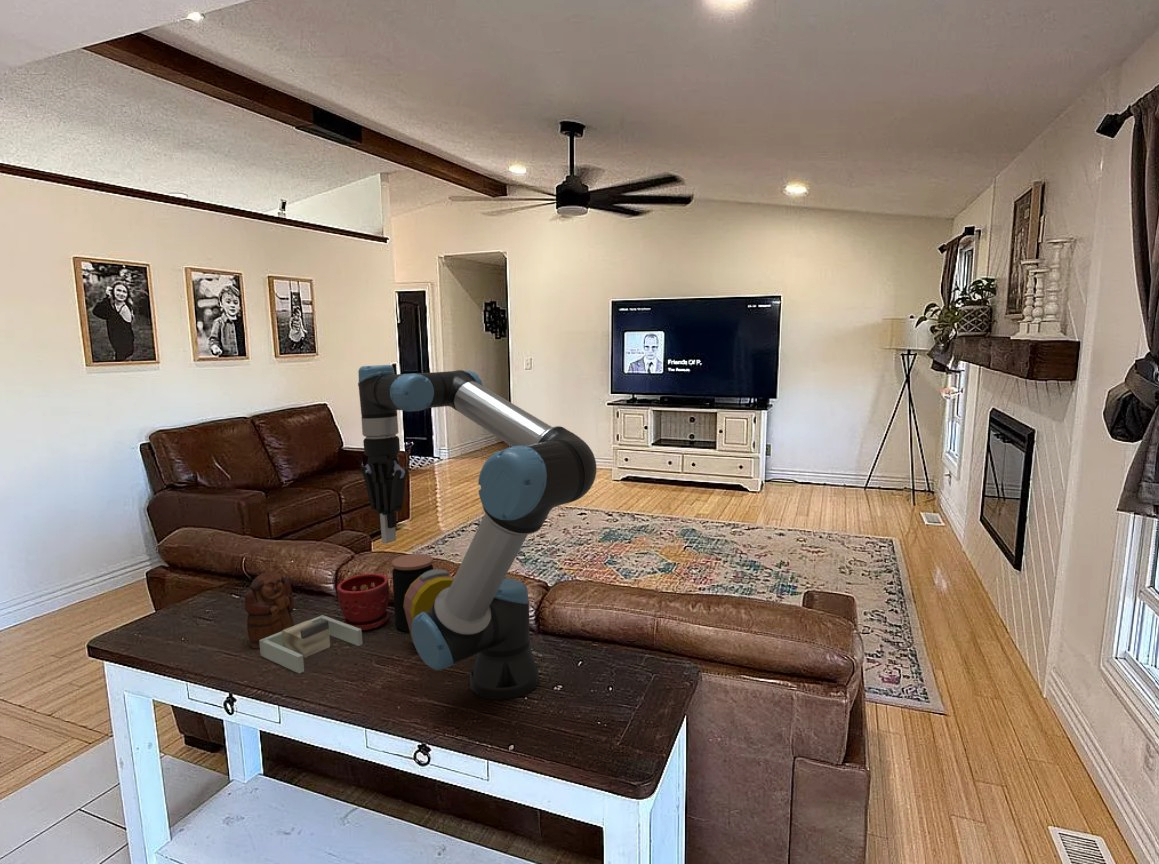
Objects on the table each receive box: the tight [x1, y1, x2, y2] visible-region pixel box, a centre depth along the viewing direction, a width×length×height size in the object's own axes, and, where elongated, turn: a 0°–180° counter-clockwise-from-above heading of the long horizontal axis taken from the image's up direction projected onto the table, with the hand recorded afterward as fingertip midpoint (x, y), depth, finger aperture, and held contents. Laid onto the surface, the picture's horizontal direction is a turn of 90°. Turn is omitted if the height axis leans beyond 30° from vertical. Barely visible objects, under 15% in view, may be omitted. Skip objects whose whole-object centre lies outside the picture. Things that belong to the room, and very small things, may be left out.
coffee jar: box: [391, 553, 434, 633], centre depth 175 cm, size 11×11×18 cm
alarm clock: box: [403, 568, 455, 645], centre depth 165 cm, size 15×8×18 cm, turn 123°
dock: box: [259, 614, 363, 675], centre depth 163 cm, size 16×17×4 cm
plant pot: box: [336, 573, 390, 631], centre depth 177 cm, size 13×13×12 cm
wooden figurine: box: [244, 571, 295, 649], centre depth 168 cm, size 12×6×18 cm, turn 159°
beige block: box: [282, 619, 331, 659], centre depth 164 cm, size 9×7×7 cm
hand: (389, 541), depth 146 cm, fingers closed
